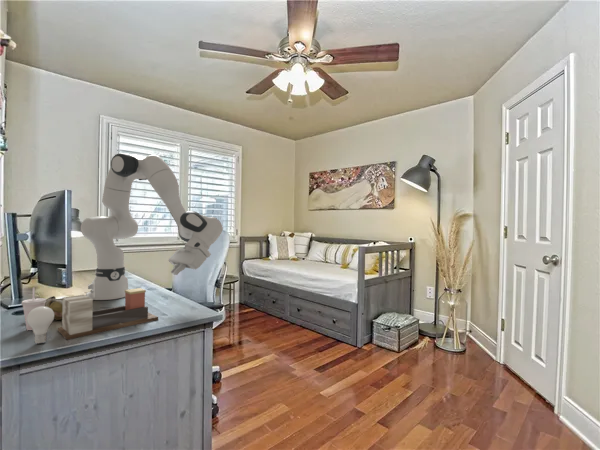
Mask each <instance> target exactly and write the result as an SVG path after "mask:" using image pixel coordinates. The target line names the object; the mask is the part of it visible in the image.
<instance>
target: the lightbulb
mask: <svg viewBox="0 0 600 450" xmlns="http://www.w3.org/2000/svg"><path fill="white" fill-rule="evenodd" d="M54 320H55V319H54V312H53V310H52V309H51V308H49V307H46V306H40V307H36V308H34V309H33V310H31V311H30V312H29V314H28V315H27V323H28V325H29V326H30V327H31V328H32V329H33V330H32V333H33V334H34V343H35V344H36V345H37V344H38V345H42V344H44V343H45V342H47V332H48V330H49V327H50V325H51V324H52V323H53V322H54Z"/></svg>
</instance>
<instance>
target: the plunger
mask: <svg viewBox="0 0 600 450" xmlns="http://www.w3.org/2000/svg"><path fill="white" fill-rule="evenodd" d="M146 292H147V291H146V289H144V288H141V287H138V288H131V289H129V288H128V290H125V297H124V298H125V301H124V306H125V310H129V309H135V308H140V307H146V302H145V301H146Z"/></svg>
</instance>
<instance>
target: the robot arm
mask: <svg viewBox="0 0 600 450" xmlns="http://www.w3.org/2000/svg"><path fill="white" fill-rule="evenodd" d="M135 180H138V181H144V180H145V181H148V182H149V184H150V186H151V187H152V189H153V191H155V193H156V194H157V195H158V196H159V199H161V201H162V203H164V205H165V206H166V208H167V210H168V211H169V213H170V215H171V217H172V218H173V220H174V222H175V224H176V226H177V232H178V236H179V239H181V240H182V241H183V242H186V243H185V244H184V247H182V248H178V249H177V250H176V251H175V252H174V253H172V255H171V256H170V257H169V258H168V262H169V263H170V264H171V265H172V266H173V269H171V271H170V273H171V274H172V275H175V276H178V275H179V274H180V273H181V272H182V271H184V270H185V269H191V270H197V269H199V268H200V267H201V266H202V265H203V264H204V263H205V261H206V260H207V258H210V256H211V255H212V254H211V252H210V251H209V249H210V247H211V246H212V245H213V244H214V243H216V241H218V238H219V237H220V236H221V235H222V233H223V228H224V227H223V224H222V223H221V221H220V220H219V219H218V218H216V217H215V216H206V215H203V214H200V213H198V212H197V211H195V210H187V211H186V209H185V208H184V206H183V204H182V201H181V197H180V190H179V189H180V186H179V185H180V184H179V182H178V180H177V177H176V175H175V173H174V172H173V170H172V168H171V167H170V166H169V165H168V164H167V162H165V161H164V159H163V158H162V157H161V156H159V155H157V154H151V155H150V154H149V155H148V156H144V155H139V154H131V153H130V154H129V153H127V152H126V153H124V152H120V153H116V154H114V155H113V156H112V157H111V161H110V168H109V170H108V173H107V176H106V178H105V180H104V181H105V182H104V186H103V187H104V188H103V193H102V199H101V202H102V204H103V205H104V207H105V208H106V209H108V210H110V216H105V215H103V216H99V215H96V216H90V217H86V218H84V220H83V221H82V222H81V225H80V233H81V234H82V236H83V237H85V239H87V240H89V242H91V244H92V246H93V247H94V249H95V252H96V263H97V264H96V266H97V267H96V269H95V277H94V278H93V280H92V281H91V283H89V284H88V285H87V289H88V290H90V291H88V292H85V296H87V297H89V298H91V299H92V300H93V301H107V300H108V301H109V300H117V299H122V298H125V290H129V279H128V277H126V276H125V274H126V269H125V266H124V265H125V252H124V250H123V249H122V248H120V247H118V246H116V244H115V242H114V240H123V239H129V238H132V237H135V236H136V235H137V233H138V231H139V224H138V222H137V221H136V219H134V218H133V216H132V215H131V211H130V198H131V191H132V185H133V182H135Z"/></svg>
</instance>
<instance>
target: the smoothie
mask: <svg viewBox="0 0 600 450" xmlns="http://www.w3.org/2000/svg"><path fill="white" fill-rule="evenodd" d="M35 295H36V288H35V287H32V298H29V299H25V300H22V301H21V305H22V308H23V309H22V310H23V315H24V320H25V326H26V331H28V330H32V331H33V329H32V328H31V327H30V326H29V325H28V323H27V315H28V314H29V312H30V311H31V310H33V309H34V308H36V307H40V306H45V302H46V299H47V298H45V297H44V298H43V297H36V296H35ZM35 297H36V298H35Z"/></svg>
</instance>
